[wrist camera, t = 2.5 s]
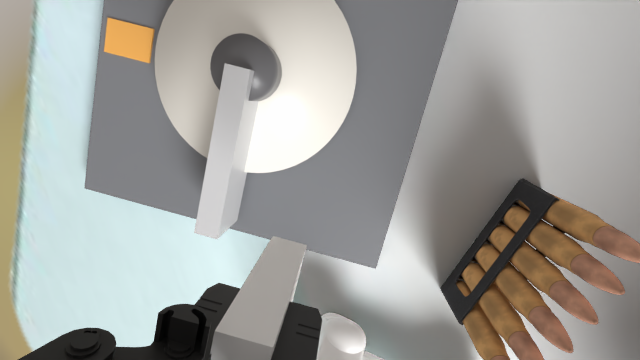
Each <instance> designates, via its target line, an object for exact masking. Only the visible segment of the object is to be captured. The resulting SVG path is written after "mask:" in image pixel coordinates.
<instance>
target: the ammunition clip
mask: <svg viewBox="0 0 640 360" xmlns="http://www.w3.org/2000/svg"><path fill="white" fill-rule="evenodd" d="M541 219H543V220H545V221H547V222H548V223H550V224H552V225H553V227H552V226H551V225H549V224H547V223H546V222H544V221H543V220H541ZM564 233H567V234H569V235H570V236H572V237H574V238H575V239H577V240H580V241H583V242H586V243H590V244H592V245H594V246H595V247H598V248H600V249H602V250H604V251H606V252H608V253H610V254H612V255H615V256H617V257H619V258H622V259H625V260H628V261H632V262H636V263H640V244H639V243H638V242H637V241H635V240H634V239H633V238H631V237H630V236H628V235H627V234H625V233H623V232H621V231H619V230H617V229H615V228H614V227H613V226H611V225H609V224H607V223H605V222H604V221H603V220H602V219H600V218H599V217H598V216H597V215H595V214H593V213H591V212H589V211H586V210H584V209H582V208H580V207H578V206H576V205H573V204H571V203H569V202H567V201H565V200H563V199H561V198H558V197H556V196H554V195H552V194H550V193H548V192H546V191H544V190H543V189H541V188H539V187H537V186H535V185H534V184H532V183H530V182H528V181H527V180H525V179H520V180H519V181H518V183H517V184H516V185H515V187H514V188H513V190H512V191H511V192H510V194H509V195H508V196H507V198H506V199H505V200H504V202H503V203H502V205H501V206H500V207H499V209H498V210H497V211H496V213H495V214H494V215H493V217H492V218H491V220H490V221H489V222H488V224H487V225H486V226H485V228H484V229H483V231H482V232H481V233H480V235H479V236H478V237H477V239H476V240H475V241H474V243H473V244H472V246H471V247H470V248H469V250H468V251H467V252H466V254H465V255H464V257H463V258H462V259H461V261H460V262H459V263H458V265H457V266H456V267H455V269H454V270H453V272H452V273H451V274H450V276H449V277H448V278H447V280H446V281H445V283H444V284H443V285H442V287H441V291H442V293H443V295H444V296H445V298H446V300H447V302H448V304H449V306H450V307H451V309H452V311H453V313H454V315H455V317H456V318H457V320H458V322H459V323H460V324H461V325H464V326H465V328H466V330H467V332H468V334H469V336H470V338H471V340H472V342H473V344H474V346H475V348H476V350H477V352H478V353H479V355H480V356H481V357H482V358H483V359H484V360H510V358H509V356H508V354H507V352H506V349H505V345H504V343H503V341H502V339H501V337H500V336H502V337H503V338H504V340H505V341H506V342H507V344H508V345H509V347H511V348H512V350H513V352H514V353H515V354H516V356H517V357H518V358H519V360H544V358H543V356H542V354H541V352H540V351H539V349H538V347H537V345H536V344H535V342H534V341H533V339H532V338H531V336H530V334H529V333H528V331H527V330H526V328H525V326H524V323H523V321H522V319H521V317H520V316H519V314H518V313H517V312H516V310H517V311H518V312H520V313H521V314H522V315H523V316H525V318H526V319H527V320H528V321H529V322H530V323H531V324H532V325H533V326H534V327H535V328H536V329H537V331H538V332H539V333H540V334H542V335H543V336H544V337H545V338H546V339H547V340H548V341H549V342H551V343H552V344H553V345H555V346H556V347H558V348H559V349H561V350H563V351H565V352H568V353H572V352H573V345H572V341H571V339H570V337H569V335H568V333H567V331H566V330H565V328H564V326H563V325H562V324H561V322H560V321H559V319H558V318H557V317H556V316H555V315H554V314H553V313H552V311H551V309H550V308H549V307H548V306H547V305H546V304H545V302H544V301H543V299H542V297H541V295H540V293H539V292H538V291H537V290H536V289H535V288H534V287H533V286H532V285H531V284H530V283H529V282H528V281H527V280H529V281H530V282H531V283H532V284H533V285H534V286H535V287H536V288H537V289H539V290H541V291H542V292H544V293H546V294H547V295H548V296H549V297H550V298H552V299H553V300H554V301H555V302H557V303H558V304H559V305H560V306H561V307H562V308H563V309H565V310H566V311H567V312H569V313H570V314H572V315H573V316H575V317H576V318H578V319H580V320H582V321H584V322H587V323H590V324H594V325H596V324H598V317H597V315H596V313H595V311H594V309H593V307H592V306H591V304H590V303H589V302H588V300H587V299H586V298H585V297H584V296H583V295H582V294H581V293H580V292H579V291H578V290H577V289H576V288H575V287H574V286H573V285H572V284H571V283H570V282H569V281H568V280H567V279H566V278H565V277H564V276H563V274H562V273H561V271H560V270H559V269H558V268H557V267H556V266H555V265H553V264H552V263H551V262H550V261H548V260H547V259H546V258H545V257H548V258H549V259H550V260H552V261H553V262H554V263H556V264H557V265H559V266H561V267H564V268H566V269H568V270H569V271H571V272H572V273H574V274H575V275H578V276H579V277H580V278H582V279H583V280H584V281H586V282H588V283H589V284H591V285H593V286H595V287H597V288H599V289H601V290H604V291H607V292H609V293H613V294H618V295H623V294H624V293H625V290H624V287H623V285H622V284H621V282H620V281H619V279H618V278H617V277H616V276H615V275H614V274H613V273H612V272H611V271H610V270H609V269H608V268H607V267H606V266H604V265H603V264H602V263H601V262H599V261H598V260H597V259H595V258H594V257H593V256H591V255H590V254H589V253H587V252H586V251H585V250H584V249H583V248H582V247H581V246H580V245H579V244H578V243H577V242H576V241H574V240H573V239H571V238H570V237H568V236H567V235H565V234H564ZM525 240H526V241H527V242H529V243H530V244H531V245H532V246H534V247H535V248H536V250H535V249H534V248H533V247H531V246H530V245H529V244H528V243H527V242H525ZM509 261H510V262H511V263H512V264H513V265H514V266H515V267H516V268H517V269H518V270H519V271H518V270H517V269H516V268H515V267H514V266H513V265H512V264H511V263H510V262H509ZM510 303H511V304H512V305H511V304H510ZM512 306H513V307H514V308H515V309H516V310H515V309H514V308H513V307H512ZM499 335H500V336H499Z"/></svg>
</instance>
